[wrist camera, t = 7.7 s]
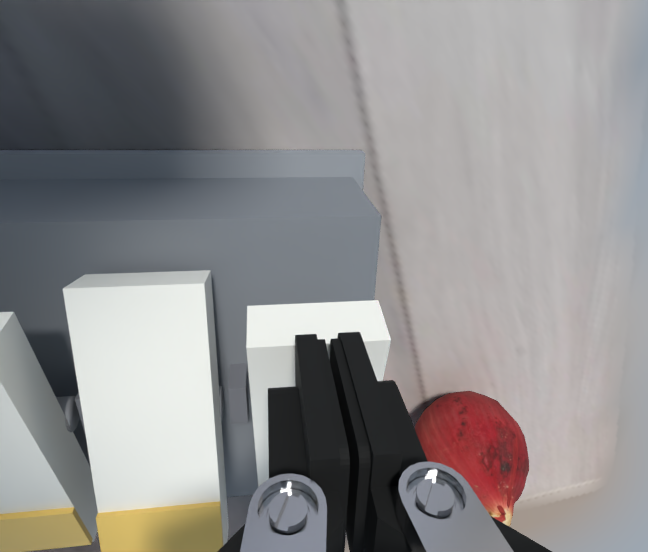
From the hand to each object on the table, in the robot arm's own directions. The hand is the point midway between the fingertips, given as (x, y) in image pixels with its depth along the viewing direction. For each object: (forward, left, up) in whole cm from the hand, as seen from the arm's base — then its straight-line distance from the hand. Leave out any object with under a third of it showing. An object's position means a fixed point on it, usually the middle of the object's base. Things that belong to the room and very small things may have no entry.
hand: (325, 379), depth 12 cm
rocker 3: (+4, 0, -3) cm, 5 cm away
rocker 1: (+4, -10, -3) cm, 11 cm away
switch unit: (+6, -5, -11) cm, 13 cm away
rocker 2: (+4, -5, -3) cm, 7 cm away
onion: (+11, +9, -11) cm, 18 cm away
